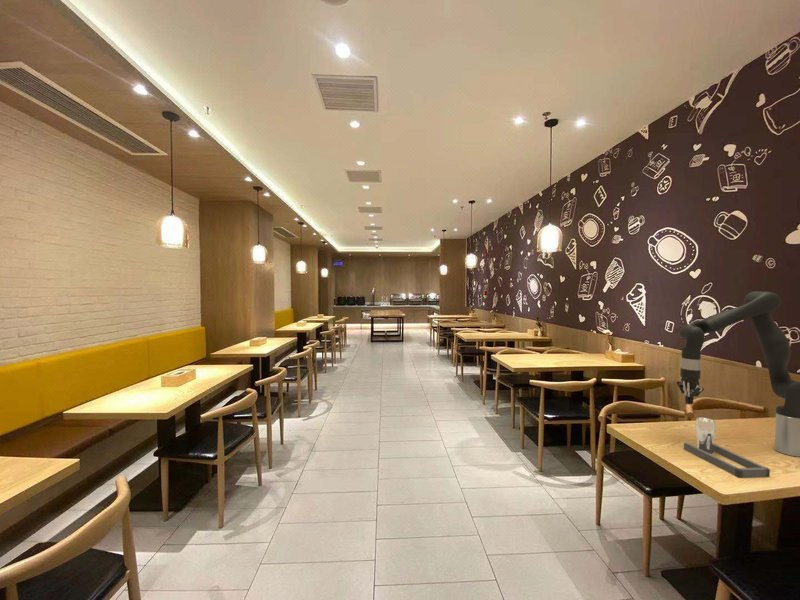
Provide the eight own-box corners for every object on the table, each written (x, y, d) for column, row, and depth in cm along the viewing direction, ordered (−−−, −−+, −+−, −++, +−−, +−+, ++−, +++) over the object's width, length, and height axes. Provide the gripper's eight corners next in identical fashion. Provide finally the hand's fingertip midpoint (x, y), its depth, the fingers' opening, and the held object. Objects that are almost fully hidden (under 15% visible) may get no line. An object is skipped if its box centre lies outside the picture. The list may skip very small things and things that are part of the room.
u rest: (709, 448, 169) (710, 441, 169) (769, 476, 143) (769, 469, 143) (683, 448, 168) (683, 442, 168) (739, 477, 142) (739, 470, 142)
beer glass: (707, 456, 160) (708, 423, 159) (691, 450, 167) (692, 417, 166) (718, 455, 162) (720, 422, 161) (702, 448, 169) (703, 416, 168)
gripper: (710, 371, 166) (709, 408, 166) (685, 364, 179) (684, 399, 179) (695, 371, 165) (693, 408, 166) (671, 364, 178) (670, 399, 179)
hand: (689, 403), depth 173 cm, fingers closed
